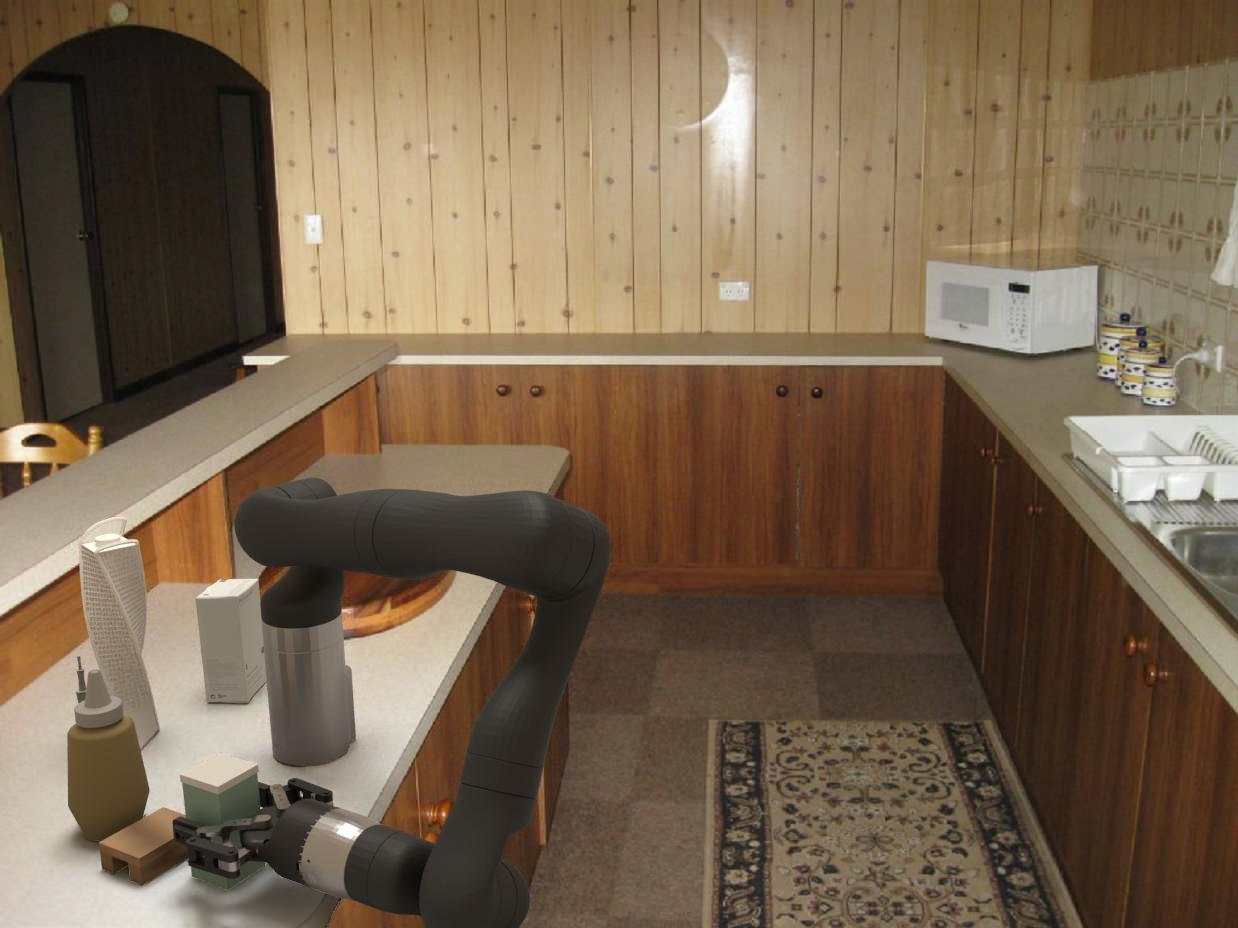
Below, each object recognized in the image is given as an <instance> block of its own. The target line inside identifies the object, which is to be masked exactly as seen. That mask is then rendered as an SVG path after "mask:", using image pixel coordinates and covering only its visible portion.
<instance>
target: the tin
mask: <svg viewBox="0 0 1238 928" xmlns="http://www.w3.org/2000/svg"><path fill="white" fill-rule="evenodd" d="M259 772H260V771H259V764H258V763H255V762H252V761H249V760H245V759H242V758H240V757H236V756H232V755H229V754H227V753H222V752H219V753H217V754H215V755H214V756H212V757H209V758H208V759H206V760H205V761H204V760H203V762H200V763H198V764H197V765H195V766H193V767H191V768H189V769H187V770H186V771H184V772H181V773H179V779H180V782H181V783H182V794H183V801H184V802H183V805H184V812H185V813H184V815H186V818H187V819H190V820H193V821H195V822H198V823H201V824H204V825H205V826H217V825H222V824H223V823H224V821H226V820H233V819H245V818H247V817H249V816H252V815H254V814H256V813H257V812H258V811H259V810H260V809H261V807H260V797H259V786H258V782H259V776H258V773H259ZM232 836H233V844H234V845H235V846H237V847H240V846H242V845H241V842H240V834H239V830H235V831H232ZM211 841H212V842H215V843H219V844H223V842H222V837H221V836H212V837H211ZM203 857H204V856H203ZM264 867H266V862H253V861H248V862H247V863H245V864H244V865H242V866H241V867H240V876H239V877H238V878H235V879H229V878H225V877H222V876H219V875H216V874H213V873H210V872H206V871H203V870H200V869H197V868H194V867H191V866H190V870H191V871H190V872H191V877H192V878H193V879H196V880H200V881H202V882H204V883H206V884H210V885H213V886H215V887H217V888H220V889H223V890H225V891H228V892H229V890H231V889H233V888H234V887H235V886H237V885H239V884H240V883H242V882H243V881H244V880H246V879H248V878H249V877H251V876H252V875H253V874H255V873H257V872H258V871H260V870H261V869H263V868H264Z"/></svg>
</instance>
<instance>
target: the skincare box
mask: <svg viewBox="0 0 1238 928" xmlns="http://www.w3.org/2000/svg"><path fill="white" fill-rule="evenodd" d="M260 593H261V592H260V583H259V578H230V579H229V578H225V579H218V580H217V581H215V583H213V584H212V585H209V586H207V587H206V588H205V589H204V591H203V592H201V593H200V594H199V595H198V596H196V597H195V605H196V615H197V623H198V633H199V634H198V635H199V641H200V652H201V662H202V670H203V680H204V681H203V682H204V689H205V698H206V702H207V703H227V704H228V703H229V704H249V702H250V701H251V699H252V698H253V696H254V695H255V694H256V693H257V692H258V691H259V690H260V689H261V688H262V687H263V686H264V685H265V684H267V679H266V667H265V655H264V643H263V633H262V621H261V608H260V601H261V594H260Z"/></svg>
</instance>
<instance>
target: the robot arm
mask: <svg viewBox="0 0 1238 928" xmlns="http://www.w3.org/2000/svg"><path fill="white" fill-rule="evenodd" d="M233 523H234V524H233V525H234V527H233V528H234V532H235V536H236V540H237V542H238V544H239V546H240V547H241V549H242V550H243V552H244V553H245V554H246V555H247V556H248V557H249V558H250V559H251V560H253V561H254V562H256V563H257V564H259V565H261V566H264V567H267V568H270V569H271V568H274V569H275V568H286V567H288V569H287V570H286V572H285V573H284V574H283V575H282V576H281V577H280V578H279V579H278V580H277V581H276V582H275V583H273V584H272V585H270V587H268V588H267V589H266V590H265V591H264V592H263V594H262V596H260V608H261V621H262V633H263V643H264V655H265V667H266V679H267V682H266V688H267V690H266V691H267V701H268V712H269V727H270V735H271V746H272V756H273V757H274V759H275V760H277V761H279V762H280V763H283V764H285V765H290V766H298V767H299V766H314V765H320V764H324V763H327V762H328V763H329V762H331V761H334V760H336V759H338V758H340V757H342V756H344V754H346V753H347V752H348V751H349V749H350V748H351V745H352V744H351V743H352V742H353V741H355V740H356V739H357V734H356V733H357V731H356V716H355V701H354V700H355V699H354V688H353V687H354V686H353V674H352V673H353V671H352V668H351V666H350V665H346V655H345V640H344V639H345V638H344V628H343V624H344V623H343V611H342V609H343V608H342V599H343V596H344V593H345V589H346V571H347V572H351V573H352V572H354V573H362V574H368V575H375V576H378V577H386V578H393V579H402V580H411V581H412V580H415V581H417V580H427V579H430V578H433V577H435V576H438V575H439V574H442V573H443V572H445V571H453V572H454V571H455V572H460V573H464V574H468V575H472V576H477V577H480V578H483V579H487V580H490V581H493V582H495V583H498V584H501V585H502V586H505V587H507V588H509V589H513V590H514V591H515V590H516V591H518V592H521V593H524V594H527V595H530V596H533V597H535V598H536V603H535V610H534V618H533V623H532V625H531V629H530V631H529V635H528V638H527V639H526V643H525V644H524V646H523V648H522V651H520V654H519V656H518V657H517V658H516V661H515V662H514V664H513V665H511V668H510V669H509V671H508V672H507V674H505V676H504V677H503V679H502V680H501V682H500V683H499V684H498V685H497V687H496V688H495V689H494V690H493V692H492V693H491V695H490V696H489V697H488V699H487V701H486V702H485V704H484V705H483V707H482V708H481V710H480V712H479V714H478V716H477V718H476V720H475V723H474V725H473V728H472V730H471V734H470V737H469V741H468V745H467V750H466V753H465V758H464V762H463V767H462V771H461V775H460V778H459V779H460V780H459V782H460V783H459V785H458V789H457V795H456V800H455V803H453V806H452V807H451V810H450V812H449V814H448V815H447V817H446V819H445V821H444V824H443V826H442V828H441V830H440V832H439V834H438V836H437V838H436V841H435V842H433V841H431V840H427V839H425V838H421V837H420V836H417V835H415V834H412V833H410V832H406V831H403V830H400V829H397V828H393V827H390V826H388V825H386V824H383V823H380V822H378V821H376V820H374V819H372V818H371V817H368V816H366V815H363V814H361V813H357V812H354V811H351V810H348V809H345V808H342V807H338V806H335V804H334V795H333V793H334V792H333V791H332V790H331V789H328V788H326V787H324V786H319V785H317V784H314V783H311V782H308V781H306V780H304V779H301V778H298V777H292V778H289V779H288V780H287V781H286V782H287V784H285V785H282V784H280V783H275V784H274V783H273V784H272V785H270V784H266V783H264V782H261V781H258V786H259V797H260V810H259V811H258V812H257V813H256V814H254V815H252V816H249V817H247V818H245V819H233V820H226V821H224V823H223V824H222V825H217V826H205V825H204V824H201V823H198V822H195V821H193V820H190V819H187V818H184V817H181V816H179V817H178V818H176V819H174V820H173V821H172V824H173V836H174V840H175V841H176V842H179V843H181V844H184V845H186V846H187V853H188V858H187V865H188V866H189V867H190V868H191V867H194V868H197V869H200V870H203V871H206V872H210V873H213V874H216V875H219V876H222V877H225V878H229V879H235V878H238V877H239V876H240V867H241V866H242V865H244V864H245V863H247V862H248V861H253V862H265V864H266V865H268V866H269V867H270V869H272V870H273V871H274V873H275V874H277V876H279V877H280V878H283V879H286V880H288V881H291V882H294V883H297V884H298V885H303V886H304V887H307V888H310V889H312V890H315V891H318V892H320V893H323V894H326V895H329V896H332V897H335V898H340V899H345V900H350V901H354V902H357V903H359V904H362V905H365V906H367V907H371V908H373V909H375V910H379V911H383V912H385V913H389V914H393V915H394V914H395V915H400V916H401V915H403V916H419V917H421V919H422V921H423V924H424V926H425V927H426V928H520V926H521V925H522V924H523V922H524V921H525V920H526V918H527V916H528V913H529V909H530V905H531V904H530V903H531V897H530V896H531V895H530V894H531V893H530V889H529V886H528V883H527V881H526V879H525V877H524V876H523V875H524V874H523V873H522V872H520V870H519V869H518V867H517V866H515V865H514V864H512V863H511V862H509V861H508V860H505V859H503V855H504V852H505V849H506V847H507V844H508V842H509V840H510V839H511V838H512V837H513V836H514V835H515V834H518V833H521V832H522V831H524V830H525V829H527V827H528V826H529V825H530V823H531V821H532V819H533V816H534V812H535V808H536V804H537V801H538V799H537V798H538V795H539V790H540V785H541V781H542V777H543V772H544V767H545V764H546V763H545V762H546V758H547V757H546V756H547V752H548V748H549V743H550V739H551V735H552V731H553V729H554V728H553V727H554V723H555V721H556V716H557V713H558V709H559V708H560V704H561V701H562V697H563V695H564V693H565V689H566V686H567V684H568V681H569V678H570V676H571V673H572V670H573V667H574V665H575V662H576V660H577V658H578V655H579V652H580V650H581V647H582V645H583V642H584V639H585V637H586V633H587V630H588V627H589V625H590V622H591V620H592V618H593V617H592V616H593V614H594V612H595V610H596V609H595V608H596V607H597V604H598V600H599V598H600V595H601V593H602V589H603V587H604V584H605V581H606V577H607V574H608V571H609V568H610V561H611V556H612V540H611V539H612V538H611V535H610V531H609V529H608V528H607V526H606V524H605V523H604V521H603V520H602V519H601V518H600V517H598V516H597V515H596V514H594V513H593V512H590V511H589V510H586V509H584V508H582V507H579V506H578V505H574V504H572V503H570V502H567V501H565V500H562V499H560V498H557V497H555V496H554V495H552V494H548V493H545V492H543V491H536V490H524V489H523V490H512V491H511V490H510V491H502V492H495V493H494V492H493V493H484V494H474V495H455V494H450V493H447V492H437V491H429V490H428V491H427V490H420V489H419V490H418V489H409V488H406V489H403V488H379V489H369V490H362V491H361V490H360V491H353V492H348V493H343V494H337V492H336V491H335V489H334V488H333V487H332V485H331V484H330V483H328V481H326V480H324V479H323V478H322V479H321V478H318V477H307V478H302V479H298V480H293V481H289V482H284V483H280V484H276V485H270V486H265V487H262V488H260V489H258V490H256V491H253V492H251V493H250V494H249V495H247V496H246V497H245V498H244V499H243V500H242V501H241V502H240V503H239V506H238V507H237V510H236V513H235V516H234V522H233ZM235 830H239V834H240V842H241V845H242V846H240V847H237V846H235V845H234V844H233V836H232V831H235ZM212 836H221V837H222V842H223V844H219V843H215V842H212V841H211V837H212ZM203 856H204V857H203Z"/></svg>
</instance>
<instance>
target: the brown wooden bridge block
mask: <svg viewBox="0 0 1238 928" xmlns="http://www.w3.org/2000/svg"><path fill="white" fill-rule="evenodd" d="M179 816H181V817H184V818H186V815H185V813H181V812H178V811H175V810H173V809H169V808H166V807H164V806H163V807H161V808H159V809H158V810H155V811H153V812H152V813H150V814H148V815H146V816H145V817H144V816H143V819H141V820H139V821H137V822H135V823H133V824H132V825H130V826H128V827H126V828H124V829H122V830H121V831H119V832H117V833H115V834H113V835H112V836H110V837H108V838H106V839H104V840H102V841H98V848H99V857H100V864H101V870H102V871H105V872H108V873H110V874H113V875H115V874H117V873H118V872H120V871H121V870H124V869H125V868H127V867H128V873H129V881H130V882H133V883H135V884H138V885H140V886H144V885H146V884H147V883H149V882H151V881H153V880H154V879H156V878H157V877H159V876H161V875H162V874H165V873H166V872H168V871H169V870H170V869H172V868H174V867H176V866H178V865H179V864H181V863H182V862H185V860H188V853H187V846H186V845H184V844H181V843H179V842H176V841H175V840H174V836H173V824H172V821H173V820H174V819H176V818H178V817H179Z"/></svg>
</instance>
